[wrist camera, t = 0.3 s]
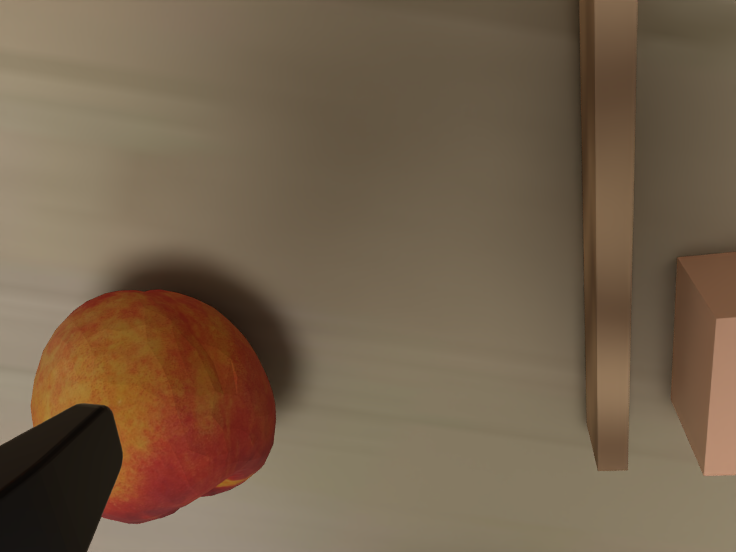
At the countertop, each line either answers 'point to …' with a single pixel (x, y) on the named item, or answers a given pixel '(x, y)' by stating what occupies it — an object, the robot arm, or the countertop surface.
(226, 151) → the countertop surface
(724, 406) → the block
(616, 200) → the brown wooden frame
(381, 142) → the countertop surface
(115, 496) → the fruit
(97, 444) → the robot arm
